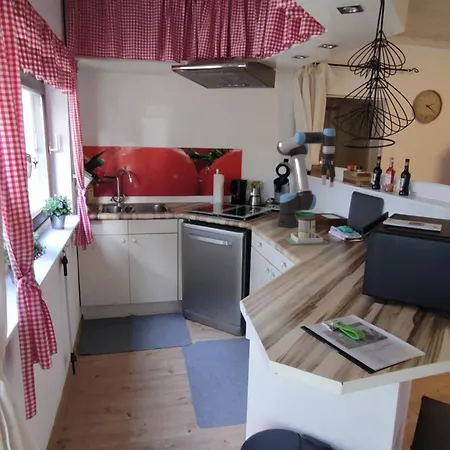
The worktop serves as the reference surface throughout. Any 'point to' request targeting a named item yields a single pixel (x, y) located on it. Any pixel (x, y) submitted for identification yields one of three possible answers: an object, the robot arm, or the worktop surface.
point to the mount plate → (305, 240)
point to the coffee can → (306, 227)
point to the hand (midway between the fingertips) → (327, 186)
